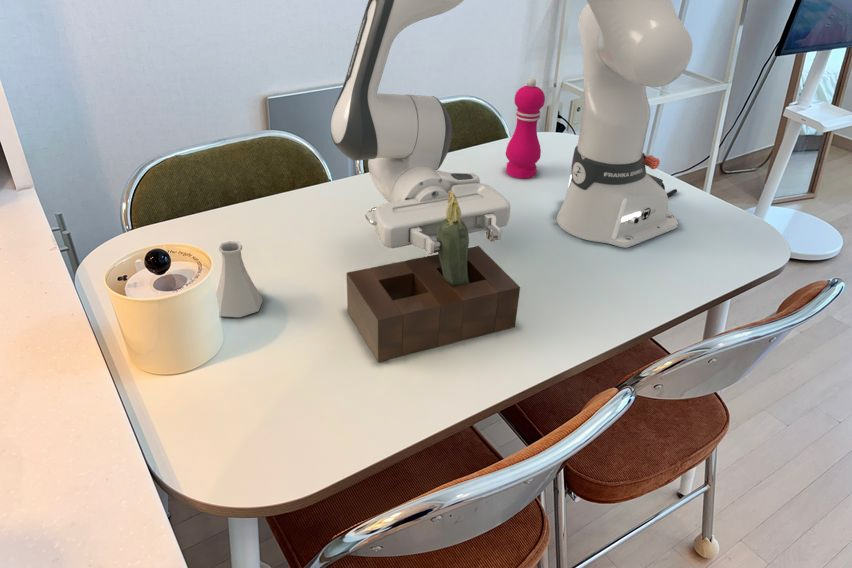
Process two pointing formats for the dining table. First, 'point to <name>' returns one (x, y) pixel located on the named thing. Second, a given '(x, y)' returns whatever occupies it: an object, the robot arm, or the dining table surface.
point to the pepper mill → (525, 132)
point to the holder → (429, 304)
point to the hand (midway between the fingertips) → (466, 242)
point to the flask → (236, 284)
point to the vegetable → (453, 245)
